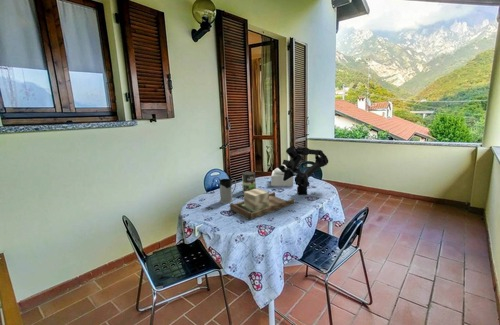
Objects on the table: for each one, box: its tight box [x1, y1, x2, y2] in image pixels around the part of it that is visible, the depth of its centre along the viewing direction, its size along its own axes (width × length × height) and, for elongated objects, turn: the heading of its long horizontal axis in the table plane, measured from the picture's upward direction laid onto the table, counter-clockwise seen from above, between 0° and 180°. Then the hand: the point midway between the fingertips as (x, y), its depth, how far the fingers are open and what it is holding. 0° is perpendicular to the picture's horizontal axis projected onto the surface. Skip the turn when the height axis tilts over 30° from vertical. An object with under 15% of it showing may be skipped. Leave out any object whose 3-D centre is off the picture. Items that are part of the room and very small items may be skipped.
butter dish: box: [270, 164, 294, 187], centre depth 206 cm, size 18×18×16 cm
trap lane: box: [229, 192, 295, 221], centre depth 158 cm, size 36×20×4 cm, turn 126°
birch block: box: [243, 187, 270, 210], centre depth 154 cm, size 11×11×9 cm
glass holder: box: [219, 178, 237, 204], centre depth 171 cm, size 9×14×15 cm, turn 137°
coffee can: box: [241, 171, 257, 193], centre depth 190 cm, size 10×10×14 cm
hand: (283, 180), depth 166 cm, fingers closed
